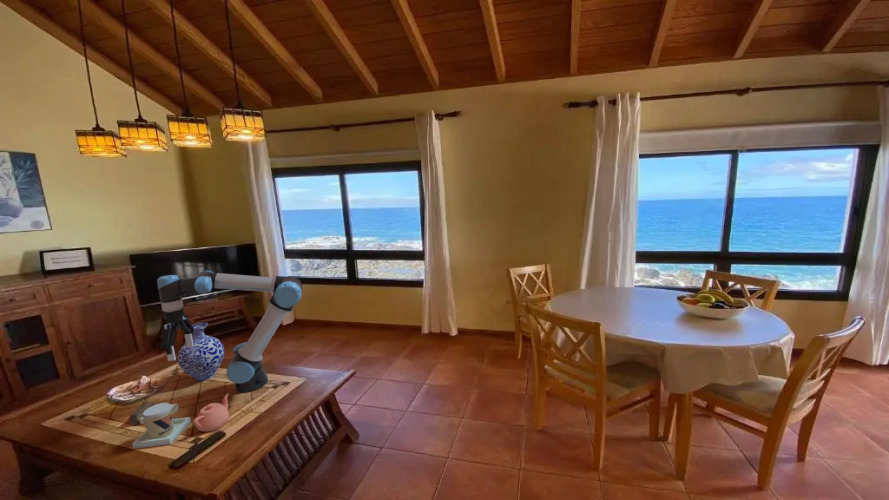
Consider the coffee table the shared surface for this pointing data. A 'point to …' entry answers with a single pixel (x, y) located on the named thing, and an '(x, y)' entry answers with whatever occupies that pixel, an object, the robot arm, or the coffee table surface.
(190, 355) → the vase
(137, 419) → the block
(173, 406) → the grey wooden square slab
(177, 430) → the tray
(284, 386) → the coffee table surface
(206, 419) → the teapot
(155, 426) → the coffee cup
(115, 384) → the coffee table surface
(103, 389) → the coffee table surface
